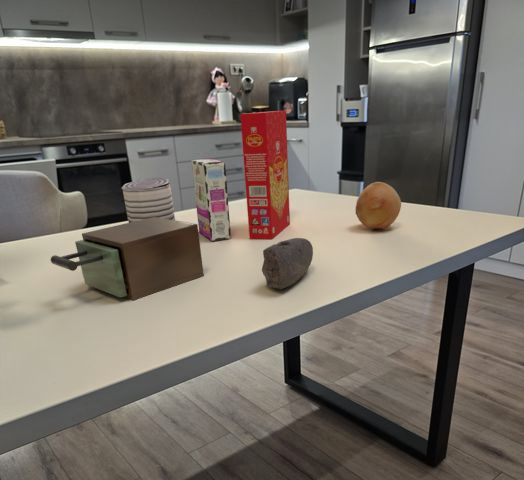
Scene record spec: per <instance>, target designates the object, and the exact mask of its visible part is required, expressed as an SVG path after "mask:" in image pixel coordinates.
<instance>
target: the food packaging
mask: <svg viewBox="0 0 524 480" xmlns="http://www.w3.org/2000/svg"><path fill="white" fill-rule="evenodd" d="M239 116H240V128H241V129H240V130H241V142H242V157H243V168H244V182H245V195H246V210H247V211H246V212H247V223H248V237H249V238H248V239H249V240H273V239H274V238H276V236H278V235H279V234H280V233H281V232H283V231H284V230H285V229H286V228H287V227H289V225H291V216H290V215H291V213H290V188H289V186H290V185H289V157H288V132H287V130H288V129H287V127H288V126H287V110H272V111H260V112H249V113H240V115H239Z"/></svg>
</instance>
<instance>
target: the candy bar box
mask: <svg viewBox="0 0 524 480" xmlns="http://www.w3.org/2000/svg"><path fill="white" fill-rule="evenodd" d="M190 162H191V169H192V170H191V171H192V178H193V188H194V189H193V190H194V197H195V206H196V207H195V208H196V215H197V217H196V218H197V225H198V233H199V234H201V235H202V236H204V237H205V238H207V239H208V240H210V241H211V242H217V241H225V240H230V239H232V231H231V221H230V208H229V194H228V181H227V171H226V169H227V168H226V161H224V160H219V159H218V160H217V159H212V158H205V159H204V158H203V159H193V160H190Z"/></svg>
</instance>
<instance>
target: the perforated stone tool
mask: <svg viewBox="0 0 524 480" xmlns="http://www.w3.org/2000/svg"><path fill="white" fill-rule="evenodd" d="M262 254H263V264H262V267H261V272H262V275H263V276H264V278H265V280H266V285H267V286H268V287H271V288H272V289H276V290H277V289H278V290H283V289H285V288H289V287H291V286H292V285H294V284H296V282H298V280H300V279H301V278H302V277H303V276H304V275H305V274H306V273H307V271H309V268H310V266H311V263H312V261H313V257H314V248H313V245H312V243H311V241H310V240H309V239H307V238H303V237H294V238H289V239H286V240H282V241H278V242H277V243H275V244H272V245H270V246H268V247H266V248H265V249H263V252H262Z"/></svg>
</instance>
